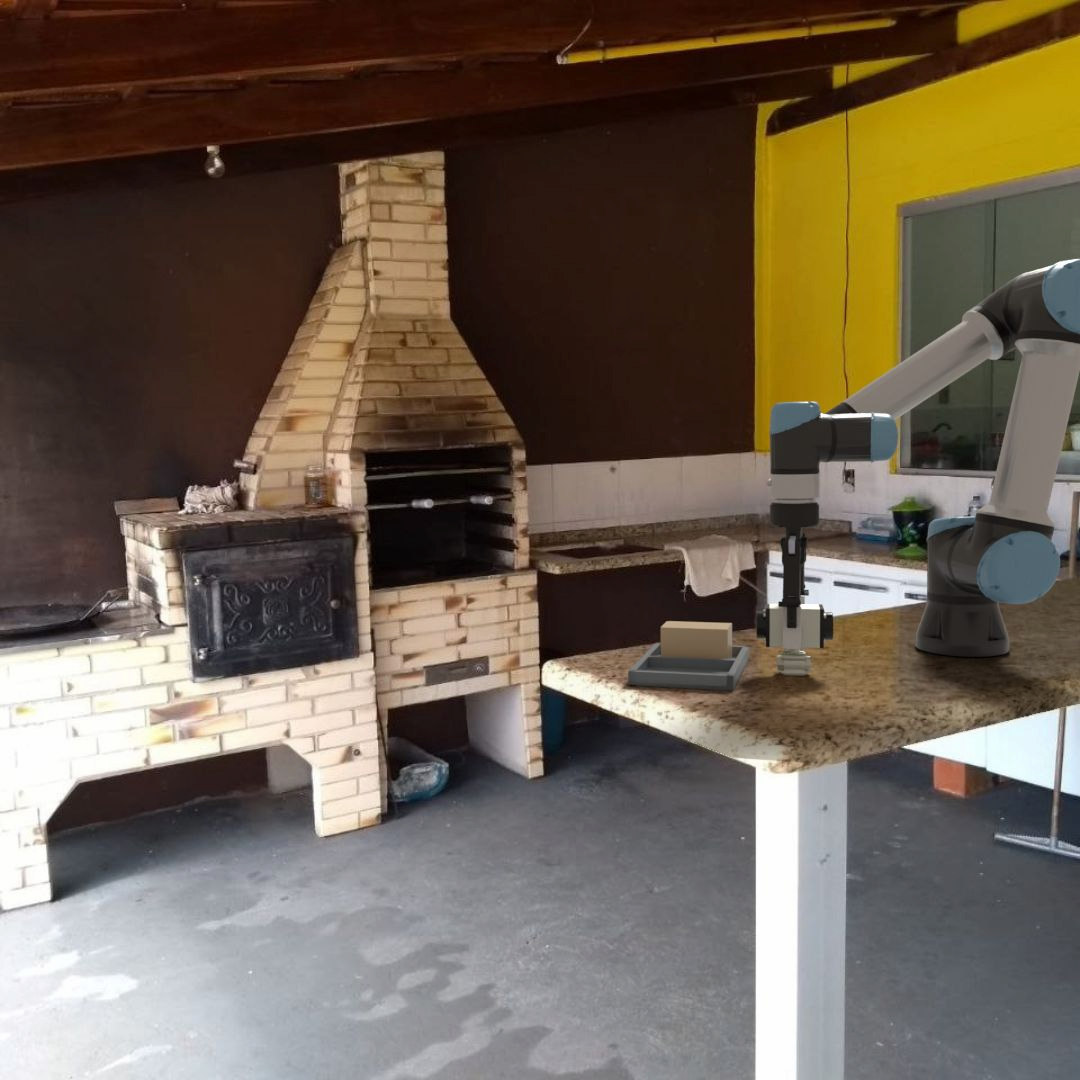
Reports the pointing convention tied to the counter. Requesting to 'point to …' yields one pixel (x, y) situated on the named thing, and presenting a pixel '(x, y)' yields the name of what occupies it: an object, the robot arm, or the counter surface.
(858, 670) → the counter surface
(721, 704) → the counter surface
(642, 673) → the bay tray
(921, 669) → the counter surface
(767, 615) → the pneumatic valve
